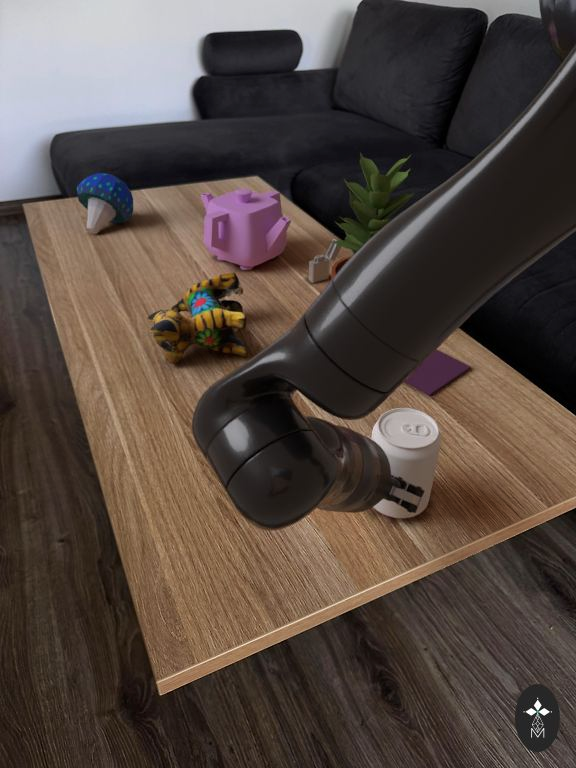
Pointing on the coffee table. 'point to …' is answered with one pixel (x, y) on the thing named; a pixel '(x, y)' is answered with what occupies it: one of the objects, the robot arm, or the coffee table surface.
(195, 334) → the striped cat figurine
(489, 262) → the robot arm
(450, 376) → the cloth
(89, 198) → the mushroom
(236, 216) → the teapot
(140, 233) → the coffee table surface
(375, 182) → the potted plant
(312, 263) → the lighter
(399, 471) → the beverage can
